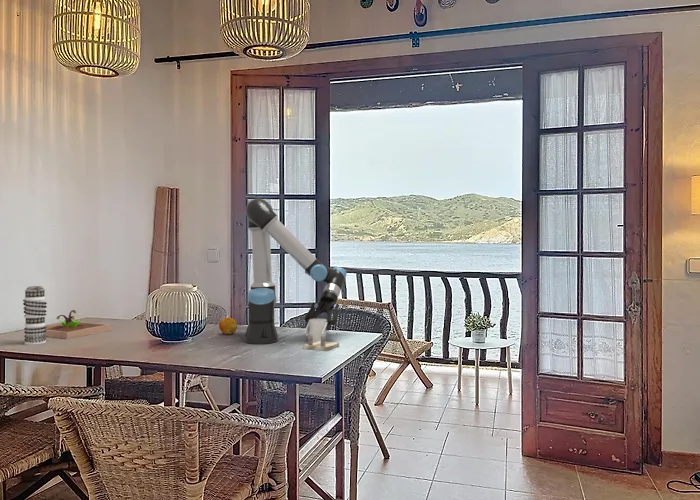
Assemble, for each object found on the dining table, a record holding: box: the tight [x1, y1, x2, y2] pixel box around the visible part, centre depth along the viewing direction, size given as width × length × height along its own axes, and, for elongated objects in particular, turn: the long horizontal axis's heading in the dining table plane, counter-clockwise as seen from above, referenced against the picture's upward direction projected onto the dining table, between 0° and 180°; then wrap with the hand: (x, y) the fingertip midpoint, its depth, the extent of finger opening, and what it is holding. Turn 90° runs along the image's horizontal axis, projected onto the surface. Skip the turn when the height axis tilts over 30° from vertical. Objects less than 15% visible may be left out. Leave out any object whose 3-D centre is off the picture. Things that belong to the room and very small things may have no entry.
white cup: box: [309, 318, 328, 341], centre depth 251 cm, size 8×8×10 cm
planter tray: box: [45, 321, 111, 340], centre depth 274 cm, size 25×25×3 cm
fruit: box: [218, 316, 238, 335], centre depth 271 cm, size 8×9×8 cm
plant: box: [46, 309, 92, 332], centre depth 275 cm, size 20×20×11 cm
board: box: [302, 334, 340, 352], centre depth 239 cm, size 12×11×6 cm
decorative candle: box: [22, 285, 48, 346], centre depth 248 cm, size 9×9×25 cm
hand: (314, 335), depth 248 cm, fingers open, 8 cm apart
